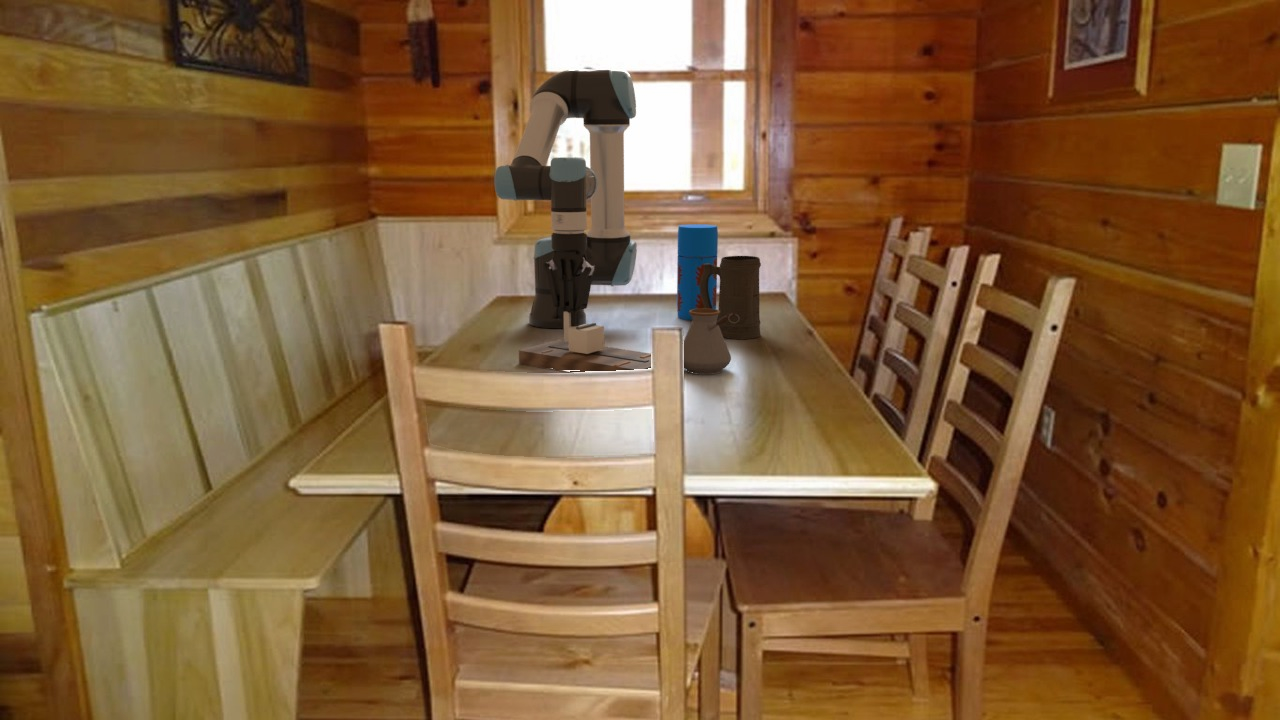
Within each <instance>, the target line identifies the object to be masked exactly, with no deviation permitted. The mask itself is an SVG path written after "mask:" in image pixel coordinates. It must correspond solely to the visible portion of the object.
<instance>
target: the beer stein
mask: <svg viewBox="0 0 1280 720" xmlns="http://www.w3.org/2000/svg"><path fill="white" fill-rule="evenodd" d="M761 266H762V265H761V258H760V257H759V256H753V255H729V256H728V255H727V256H722V258H721V260H720V263H719V266H718V265H717V266H713V265H712V264H710V263H707V264H704V271H703V274H702V277H701V280H700V295H701V298H702V301H703V304H704V306H705V308H707V309H713V308H712V305H711V302H710V297H709V292H708V281H709V277H710V276H711V275H712V274H717V276H718V277H719V291H718V293H719V295H718V309H717V310H719V311H720V314H718V317H717V321H718V320H720V319H721V318H722V317H724V316H727V314H731V313H735V314H736V315H735V316H734V317H733V318H732V319H731V320H730V321H731V322H734V323H731V322H730V321H729V320H728V321H727V322H726V323H723V324H721V325H719V328H720V330H721V333H722V335H723V338H724V339H731V340H751V339H756V338H759V337H760V336H761V326H760V325H761V320H760V318H761V316H760V269H761ZM737 315H738V316H739V318H738V316H737ZM738 320H739V321H738ZM737 321H738V322H737ZM735 322H737V323H735Z"/></svg>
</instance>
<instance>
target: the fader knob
mask: <svg viewBox="0 0 1280 720" xmlns="http://www.w3.org/2000/svg"><path fill="white" fill-rule="evenodd" d="M568 334H569V351H572V352H578V353H584V354H589V353H592V352H596V351H599V350H602V349H604V346H605V326H604V325H597V323H595V322H592V323H586V324H583V325H579V326H575V327H571V328H568Z"/></svg>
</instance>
